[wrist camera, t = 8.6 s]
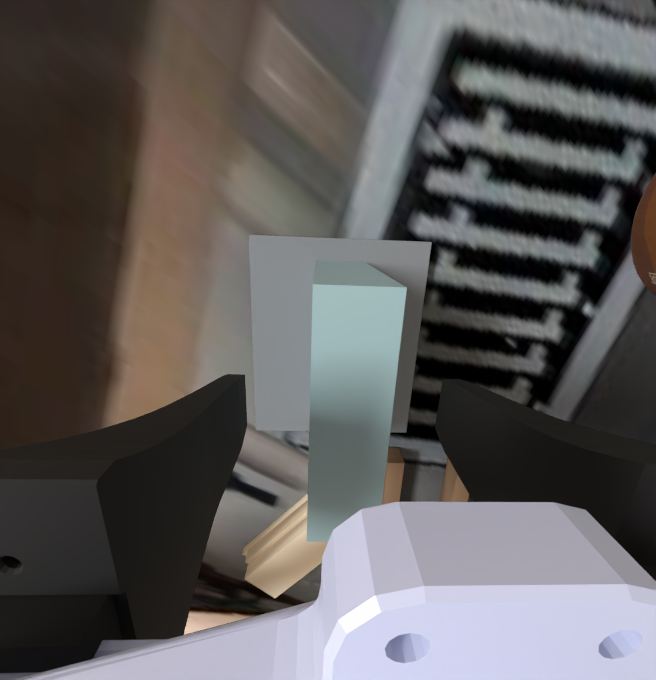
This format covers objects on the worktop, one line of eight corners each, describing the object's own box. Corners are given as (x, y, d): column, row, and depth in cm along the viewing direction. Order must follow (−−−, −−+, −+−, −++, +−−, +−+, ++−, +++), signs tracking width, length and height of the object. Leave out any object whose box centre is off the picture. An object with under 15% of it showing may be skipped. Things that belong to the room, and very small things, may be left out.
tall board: (311, 417, 19) (306, 542, 11) (315, 260, 16) (312, 284, 8) (353, 418, 19) (377, 542, 11) (364, 262, 16) (406, 287, 9)
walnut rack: (368, 581, 24) (371, 603, 23) (382, 446, 20) (387, 463, 19) (437, 581, 24) (445, 602, 23) (465, 448, 21) (476, 464, 19)
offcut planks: (245, 542, 23) (235, 581, 20) (344, 458, 21) (348, 489, 18) (276, 563, 24) (271, 603, 21) (375, 484, 22) (382, 517, 19)
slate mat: (257, 424, 20) (255, 430, 19) (251, 234, 16) (248, 234, 16) (403, 426, 20) (406, 432, 19) (427, 241, 16) (431, 242, 16)
